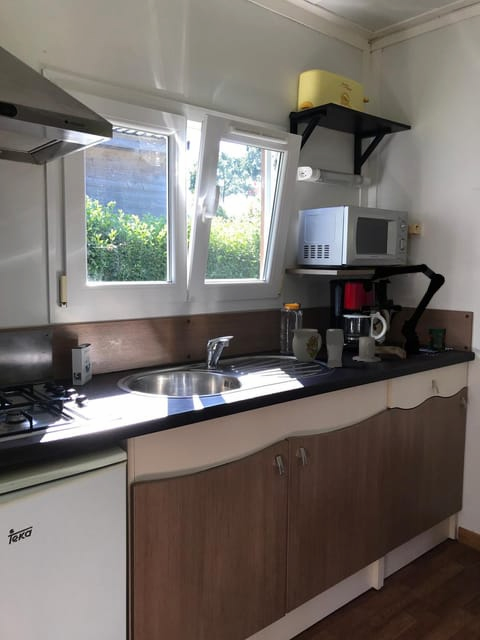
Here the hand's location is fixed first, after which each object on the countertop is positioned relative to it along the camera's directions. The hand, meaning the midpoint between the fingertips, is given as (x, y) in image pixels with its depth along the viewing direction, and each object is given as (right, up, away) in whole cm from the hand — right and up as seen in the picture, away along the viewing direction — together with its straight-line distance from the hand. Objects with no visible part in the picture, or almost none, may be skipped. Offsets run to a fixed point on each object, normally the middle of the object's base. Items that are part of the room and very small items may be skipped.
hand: (379, 326), depth 258 cm
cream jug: (-11, -14, -21) cm, 28 cm away
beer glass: (-27, -16, -35) cm, 48 cm away
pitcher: (-37, -15, -21) cm, 45 cm away
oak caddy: (0, -13, -11) cm, 17 cm away
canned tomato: (+28, -12, +4) cm, 31 cm away
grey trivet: (-11, -14, -20) cm, 27 cm away
